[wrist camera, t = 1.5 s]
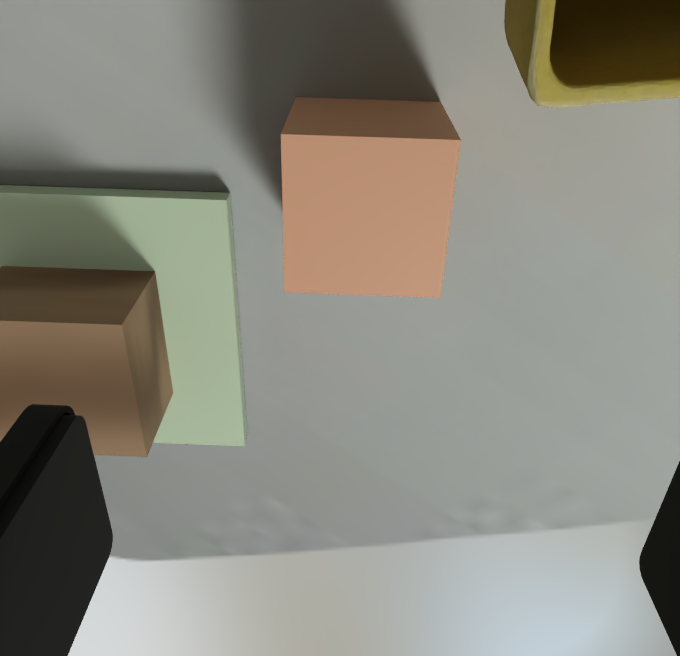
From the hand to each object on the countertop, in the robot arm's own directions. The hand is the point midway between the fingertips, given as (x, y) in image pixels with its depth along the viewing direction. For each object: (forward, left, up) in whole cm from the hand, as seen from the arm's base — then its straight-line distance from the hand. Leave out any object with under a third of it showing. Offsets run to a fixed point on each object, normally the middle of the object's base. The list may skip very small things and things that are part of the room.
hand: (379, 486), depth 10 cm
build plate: (+7, -11, -15) cm, 20 cm away
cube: (0, 0, -15) cm, 15 cm away
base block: (+7, -11, -14) cm, 19 cm away
